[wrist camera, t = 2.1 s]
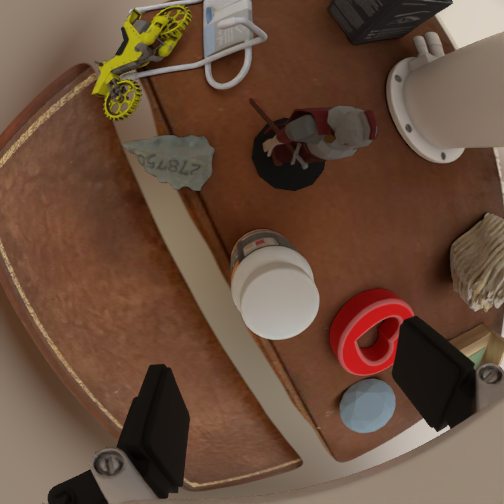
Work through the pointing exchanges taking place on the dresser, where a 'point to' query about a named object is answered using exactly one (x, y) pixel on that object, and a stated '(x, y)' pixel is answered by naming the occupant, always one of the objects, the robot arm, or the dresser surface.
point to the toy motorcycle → (137, 56)
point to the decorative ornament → (360, 321)
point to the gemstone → (367, 405)
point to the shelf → (480, 345)
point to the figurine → (309, 143)
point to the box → (382, 17)
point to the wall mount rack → (217, 37)
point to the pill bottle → (272, 285)
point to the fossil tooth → (480, 264)
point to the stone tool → (175, 159)
